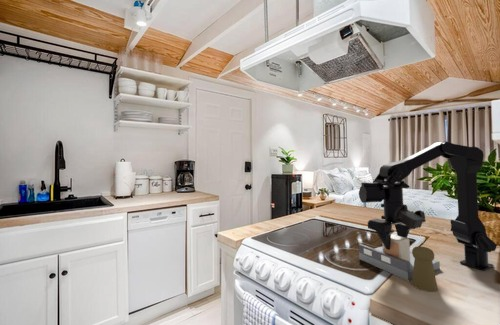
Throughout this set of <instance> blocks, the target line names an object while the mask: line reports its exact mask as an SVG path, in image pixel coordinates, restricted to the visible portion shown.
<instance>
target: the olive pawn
mask: <svg viewBox="0 0 500 325" xmlns="http://www.w3.org/2000/svg"><path fill="white" fill-rule="evenodd" d="M411 250H412V251H411V252H412V254H413V257H414V258H415V260H414V269H413V278H412V279H411V285H412V286H413V287H414V288H416V289H418V290H421V291H424V292H437V291H438V283H437V278H436V274H435V271H434V268H433V263H432V261H433V260H435V253H434V251H433V249H431V248H429V247H426V246H415V247H412V249H411Z"/></svg>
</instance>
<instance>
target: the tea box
mask: <svg viewBox="0 0 500 325" xmlns="http://www.w3.org/2000/svg"><path fill="white" fill-rule="evenodd" d="M381 243H382V246H383V252H385V253H387V254H390V255H393V256H396V257H398V258H401V259H404V260H407V261H409V262H410V252H411V246H410V238H408V237H407V238H405V237H402V236H398V235H397V234H394V233H392V234H391V243H390V250H388V249H386V248H385V246H384V244H383V242H382V241H381Z"/></svg>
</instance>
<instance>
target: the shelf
mask: <svg viewBox="0 0 500 325" xmlns="http://www.w3.org/2000/svg"><path fill="white" fill-rule="evenodd" d="M358 259H359V260H361V261H362V262H365V263H367V264H370V265H372V266H373V267H376V268H379V269H381V270H383V271H385V270H386V271H385V272H387V271H388V272H387V273H389V274H390V273H391V274H392V275H395V276H397V277H399V278H402V279H404V280H405V281H412V278H413V269H414V260H415V258H414V257H413V254H412V251H410V262H409V261H407V260H404V259H401V258H398V257H396V256H393V255H390V254H387V253H385V252H383V245H382V246H378V247H375V248H373V247H371V246H368V245H365V244H363V243H360V244H358ZM432 263H433V268H434V272H435V271H438V270H440V268H441V267H440V264H441V262H440V261H439V260H437V259H434V260H433V261H432Z"/></svg>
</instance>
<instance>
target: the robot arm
mask: <svg viewBox="0 0 500 325" xmlns="http://www.w3.org/2000/svg"><path fill="white" fill-rule="evenodd" d="M484 156H485V155H484V151H483V150H482V149H481V148H479V147H478V146H467V145H461V144H456V143H452V142H448V141H438V142H434V143H432V144H431V145H429V146H427V147H425V148H423V149H422V150H420V151H417V152H416V153H413V154H411V155H410V156H408V157H405V158H404V159H400V160H397V161H392V162H389V163H386V164H384V165H383V164H382V166H380V168H379V173H378V174H377V175H376V177H375V178H374V180H373V181H372V182H364V181H363V182H361V184H360V188H359V191H358V197H359V200H360V202H361V203H363V204H366V203H367V204H368V203H381V204H380V207H381V208H383V215H381V217H380V218H381V219H380V218H375V219H374V218H373V219H369V220H368V221H367V229H370V230H373V231H375V233H376V234H377V235H378V237H379V238H380V240H381V243H382V242H383V244H384V246H385V248H386V249H388V250H390V243H391V234H394V233H395V231H396V235H398V236H402V237H405V238H408V236H409V233H410V231H411V230H415V229H418V228H419V229H420V228H421V227H422V224H423V223H426V221H427V220H426V214H425V212H424V211H422V210H420V209H419V210H416V211H414V210H413V211H410V210H408V206H407V204H404V192H403V190H404V189H408V188H410V185H409V184H407V183H406V182H405V181H404V179H406V178H408V177H409V176H410V175H411V173H412V172H413V171H414V170H416V169H418V168H420V167H422V166H424V165H425V164H427V163H430V162H432V161H434V160H436V159H438V158H439V157H440V158H441V157H442V158H444V159H447V160H449V163H450V166H451V167H452V169H453V171H454V172H455V173H456V185H457V186H456V188H457V189H456V191H457V210H458V211H457V214H458V215H457V216H456V218H455V219H450V232H451V233H452V235H453V236H454V237H455V239H456V241H457V243H458V244H462V245H463V248H464V259H463V260H460V261H459V264H461V265H465V266H469V267H471V268H474V269H478V270H480V271H486V270H489V269H491V268H494V266H495V264H493V263H489V253H491V252H496V250H497V246H498V244H497V243H496V242H494V241H493V239H491V238H490V237H489V236H488V234H487V230H486V227H485V224H484V223H483V221H482V220H481V219H480V217H479V216H480V215H479V205H478V204H479V198H478V179H477V178H478V177H477V176H478V175H477V174H478V172H479V171H480V169H481V168H482V167H483V163H484ZM382 202H383V203H382ZM392 226H394V227H395V230H392V228H393V227H392Z"/></svg>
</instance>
